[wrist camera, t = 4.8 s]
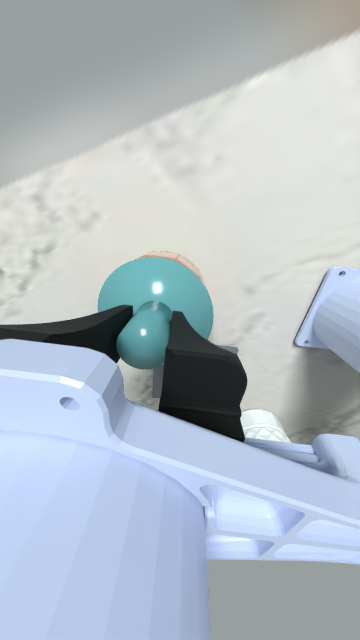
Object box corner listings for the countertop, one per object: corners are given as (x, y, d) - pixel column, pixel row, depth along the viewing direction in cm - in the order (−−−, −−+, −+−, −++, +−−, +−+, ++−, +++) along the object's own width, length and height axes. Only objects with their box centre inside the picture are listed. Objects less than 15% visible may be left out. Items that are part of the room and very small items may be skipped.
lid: (225, 268, 12) (245, 284, 8) (199, 366, 16) (202, 414, 11) (101, 246, 12) (50, 249, 8) (103, 350, 15) (69, 393, 11)
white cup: (238, 445, 27) (262, 548, 18) (215, 416, 25) (229, 521, 16) (290, 431, 25) (345, 540, 16) (270, 397, 22) (323, 506, 14)
